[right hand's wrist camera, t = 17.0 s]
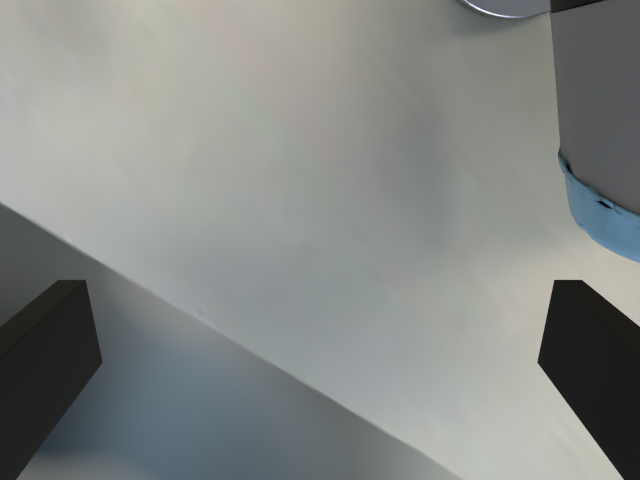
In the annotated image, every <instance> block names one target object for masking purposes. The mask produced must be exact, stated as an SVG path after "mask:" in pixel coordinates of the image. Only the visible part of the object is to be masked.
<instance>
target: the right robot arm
mask: <svg viewBox="0 0 640 480" xmlns="http://www.w3.org/2000/svg"><path fill="white" fill-rule="evenodd" d="M457 1H458V2H459V3H460V4H462V5H463V6H465V7H466V8H468V9H470V10H472V11H474V12H476V13H478V14H481V15H484V16H487V17H491V18H497V19H521V18H527V17H532V16H536V15H539V14H543V13H547V12H549V11H551V12H552V13H550V17H551V28H552V40H553V51H554V63H555V77H556V91H557V105H558V119H559V133H560V149H559V152H558V160H559V164H560V167H561V169H562V171H563V173H564V174H565V181H566V188H567V195H568V202H569V207H570V211H571V214H572V216H573V218H574V220H575V221H576V223H577V224H578V225H579V226H580V227H581V228H582V229H583V230H585V231H586V232H587V233H588V234H589V235H590V237H591V238H592V239H593V240H594V241H596V242H597V243H598V244H600V245H602V246H603V247H605V248H607V249H609V250H610V251H612V252H614V253H616V254H618V255H621V256H623V257H625V258H628V259H630V260H633V261H636V262H639V263H640V0H457ZM101 364H102V357H101V353H100V348H99V343H98V338H97V333H96V328H95V324H94V319H93V314H92V309H91V304H90V299H89V294H88V290H87V285H86V280H58V281H56V282H55V283H54V284H53V285H51V286H50V287H49V288H48V289H47V290H45V291H44V292H43V293H42V294H40V295H39V296H38V297H37V298H35V299H34V300H33V301H32V302H30V303H29V304H28V305H27V306H26V307H24V308H23V309H22V310H21V311H19V312H18V313H17V314H16V315H14V316H13V317H12V318H11V319H10V320H8V321H7V322H6V323H5V324H3V325H2V326H1V327H0V480H16V479H17V478H18V476H19V475H20V474H21V472H22V471H23V469H24V468H25V467H26V465H27V464H28V463H29V461H30V460H31V459H32V457H33V456H34V455H35V453H36V452H37V451H38V449H39V448H40V446H41V445H42V444H43V442H44V441H45V440H46V438H47V437H48V436H49V434H50V433H51V432H52V430H53V429H54V427H55V426H56V425H57V423H58V422H59V421H60V419H61V418H62V417H63V415H64V414H65V413H66V411H67V410H68V409H69V407H70V406H71V404H72V403H73V402H74V400H75V399H76V398H77V396H78V395H79V394H80V392H81V391H82V390H83V388H84V387H85V385H86V384H87V383H88V381H89V380H90V379H91V377H92V376H93V375H94V373H95V372H96V371H97V369H98V368H99V367H100V365H101ZM538 364H539V365H540V367H541V368H542V369H543V371H544V372H545V373H546V375H547V376H548V377H549V379H550V380H551V381H552V383H553V384H554V386H555V387H556V388H557V390H558V391H559V392H560V394H561V395H562V396H563V398H564V399H565V400H566V402H567V403H568V404H569V406H570V407H571V409H572V410H573V411H574V413H575V414H576V415H577V417H578V418H579V419H580V421H581V422H582V423H583V425H584V426H585V427H586V429H587V430H588V432H589V433H590V434H591V436H592V437H593V438H594V440H595V441H596V442H597V444H598V445H599V446H600V448H601V449H602V451H603V452H604V453H605V455H606V456H607V457H608V459H609V460H610V461H611V463H612V464H613V465H614V467H615V468H616V469H617V471H618V472H619V474H620V475H621V476H622V478H623V479H624V480H640V327H639V326H638V325H637V324H636V323H634V322H633V321H632V320H631V319H629V318H628V317H627V316H626V315H624V314H623V313H622V312H621V311H619V310H618V309H617V308H616V307H615V306H613V305H612V304H611V303H610V302H608V301H607V300H606V299H605V298H603V297H602V296H601V295H600V294H598V293H597V292H596V291H595V290H594V289H592V288H591V287H590V286H589V285H587V284H586V283H585V282H584V281H582V280H554V285H553V289H552V294H551V299H550V304H549V309H548V314H547V319H546V323H545V328H544V333H543V338H542V343H541V348H540V353H539V357H538Z"/></svg>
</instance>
